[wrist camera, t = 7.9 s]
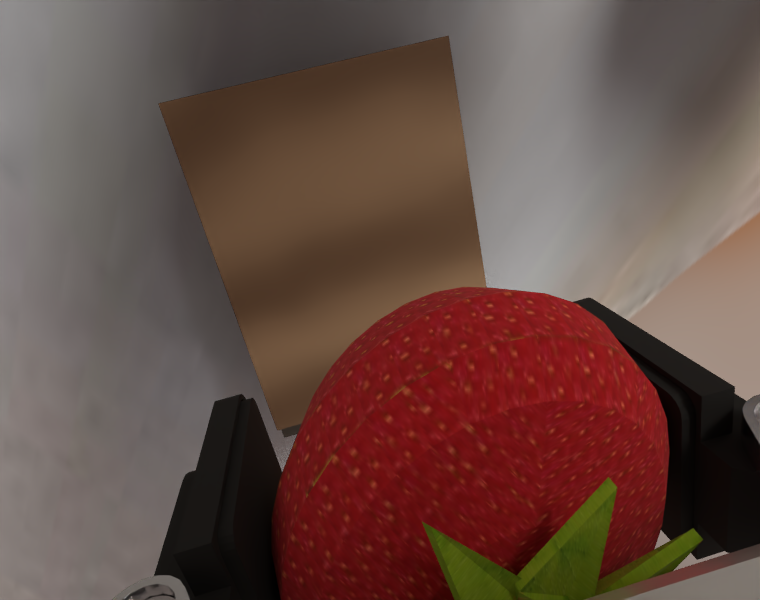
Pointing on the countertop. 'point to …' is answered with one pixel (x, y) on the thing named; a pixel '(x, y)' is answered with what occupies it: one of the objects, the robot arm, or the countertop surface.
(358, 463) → the strawberry
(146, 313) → the countertop surface
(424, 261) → the brown wooden block
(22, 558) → the countertop surface
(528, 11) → the countertop surface
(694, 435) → the robot arm
